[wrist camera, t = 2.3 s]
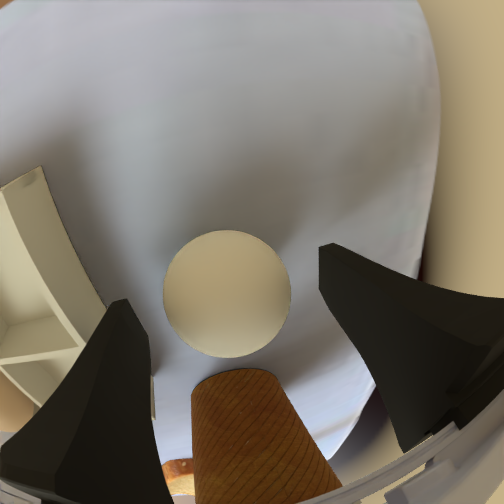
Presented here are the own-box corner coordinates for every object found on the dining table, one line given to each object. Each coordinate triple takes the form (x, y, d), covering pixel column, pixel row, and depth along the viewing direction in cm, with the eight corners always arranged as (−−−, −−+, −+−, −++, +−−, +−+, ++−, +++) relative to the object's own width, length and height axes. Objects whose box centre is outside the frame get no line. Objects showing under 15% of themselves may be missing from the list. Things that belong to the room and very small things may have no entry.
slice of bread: (191, 451, 24) (197, 480, 21) (261, 468, 34) (267, 487, 31) (96, 470, 24) (97, 491, 21) (175, 489, 35) (178, 506, 31)
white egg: (273, 286, 13) (311, 359, 10) (181, 311, 13) (191, 393, 9) (261, 198, 11) (311, 258, 7) (148, 227, 10) (137, 306, 6)
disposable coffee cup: (282, 329, 15) (376, 526, 5) (308, 393, 21) (365, 513, 11) (139, 382, 15) (162, 566, 5) (205, 430, 20) (237, 550, 10)
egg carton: (153, 377, 15) (155, 419, 12) (15, 392, 13) (8, 422, 11) (41, 165, 8) (2, 190, 5) (-85, 254, 6) (-108, 281, 3)
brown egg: (51, 388, 13) (43, 447, 9) (12, 390, 12) (2, 441, 8) (8, 342, 10) (-13, 407, 6) (-27, 348, 10) (-46, 402, 6)
